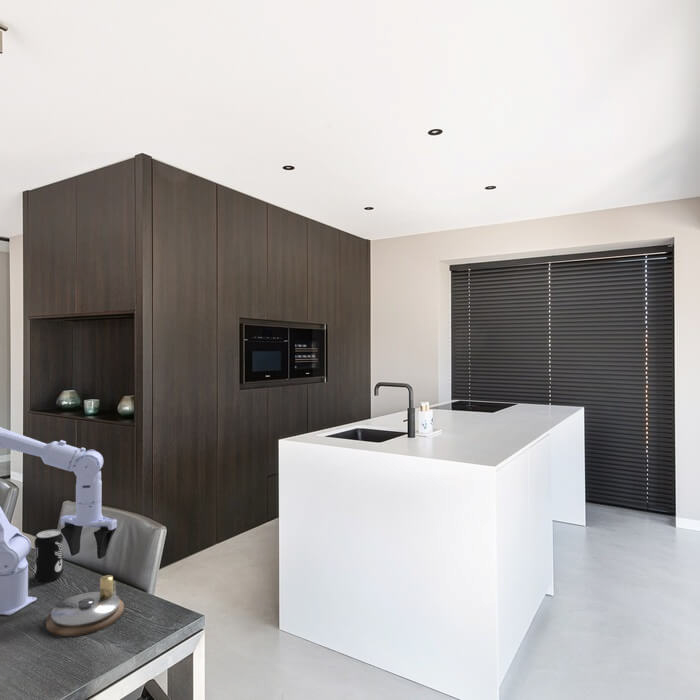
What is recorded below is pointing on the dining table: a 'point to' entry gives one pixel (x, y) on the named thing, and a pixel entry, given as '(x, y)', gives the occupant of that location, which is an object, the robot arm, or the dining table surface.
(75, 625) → the handwheel
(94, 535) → the robot arm
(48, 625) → the wheel base
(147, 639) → the dining table surface
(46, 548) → the beverage can
